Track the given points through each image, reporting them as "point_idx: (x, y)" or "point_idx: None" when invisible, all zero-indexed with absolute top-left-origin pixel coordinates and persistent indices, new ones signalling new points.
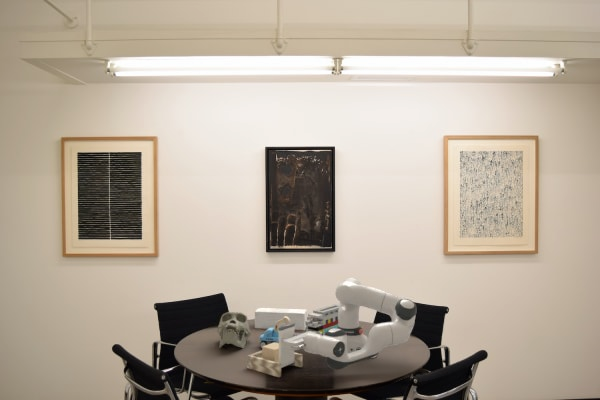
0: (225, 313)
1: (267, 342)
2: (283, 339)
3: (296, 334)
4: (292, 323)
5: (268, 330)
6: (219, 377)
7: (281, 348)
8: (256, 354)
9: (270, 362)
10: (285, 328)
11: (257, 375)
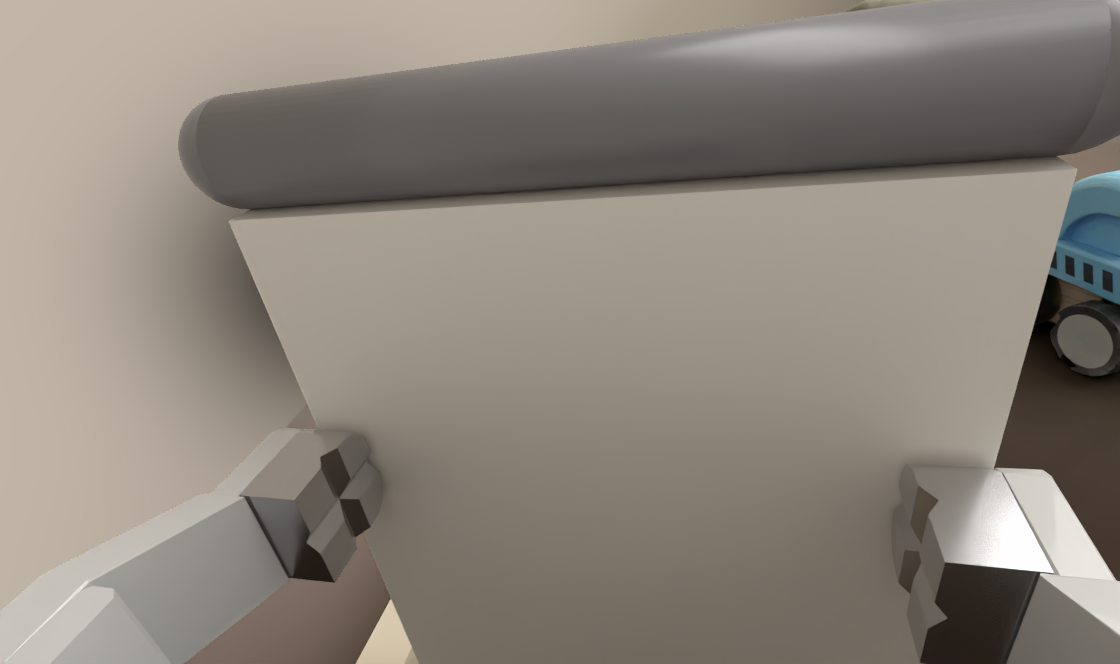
0: (845, 11)
1: (1066, 291)
2: (223, 498)
3: (981, 568)
4: (972, 6)
5: (1102, 182)
6: (306, 419)
7: (400, 603)
8: None
9: (383, 621)
10: (420, 178)
11: (383, 602)
